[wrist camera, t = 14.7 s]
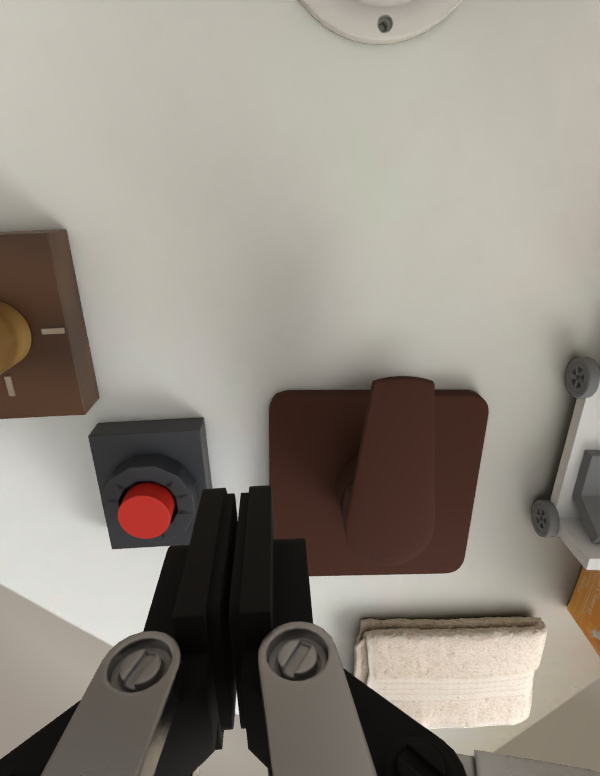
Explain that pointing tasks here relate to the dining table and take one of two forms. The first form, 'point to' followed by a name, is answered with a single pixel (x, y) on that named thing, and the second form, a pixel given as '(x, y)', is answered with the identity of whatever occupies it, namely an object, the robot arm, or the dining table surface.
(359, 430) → the lever handle
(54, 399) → the dimmer panel
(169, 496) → the power button
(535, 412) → the dining table surface
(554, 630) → the dining table surface
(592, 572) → the small box
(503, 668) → the washcloth
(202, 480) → the switch block
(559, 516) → the toy car
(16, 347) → the dimmer knob
